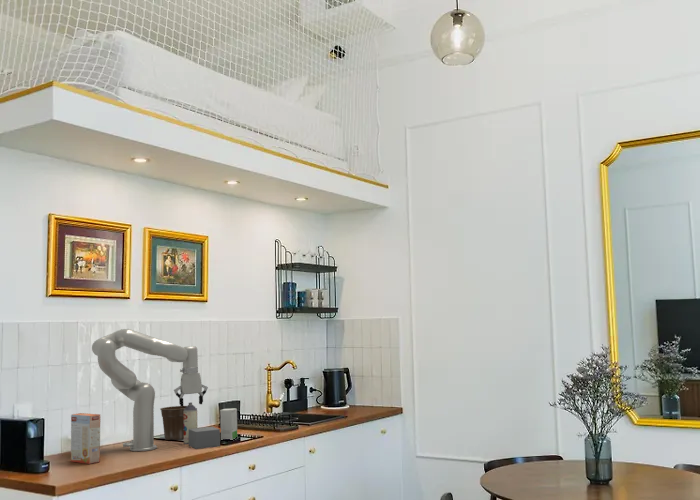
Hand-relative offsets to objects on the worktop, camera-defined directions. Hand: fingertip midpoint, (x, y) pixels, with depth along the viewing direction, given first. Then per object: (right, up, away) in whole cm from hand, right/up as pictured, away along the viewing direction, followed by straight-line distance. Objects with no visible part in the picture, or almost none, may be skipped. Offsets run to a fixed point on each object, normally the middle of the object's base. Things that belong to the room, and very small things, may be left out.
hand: (191, 405), depth 359 cm
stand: (+9, -17, -12) cm, 23 cm away
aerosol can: (0, -19, -2) cm, 19 cm away
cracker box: (-37, -16, -45) cm, 60 cm away
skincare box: (+18, -19, +4) cm, 27 cm away
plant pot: (-11, -21, +14) cm, 28 cm away
